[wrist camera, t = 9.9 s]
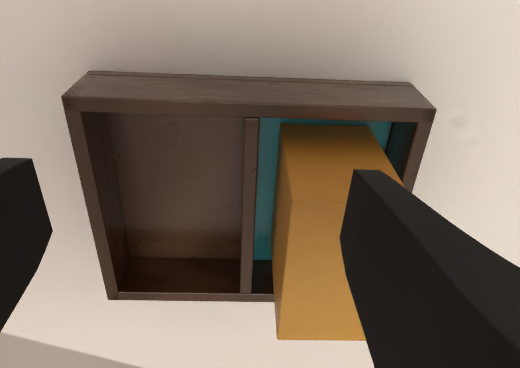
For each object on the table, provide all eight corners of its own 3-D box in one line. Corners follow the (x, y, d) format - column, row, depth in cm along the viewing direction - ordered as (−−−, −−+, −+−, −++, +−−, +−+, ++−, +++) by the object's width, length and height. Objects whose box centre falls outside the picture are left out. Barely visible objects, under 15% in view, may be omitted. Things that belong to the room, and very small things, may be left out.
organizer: (123, 258, 23) (107, 300, 20) (88, 70, 17) (60, 96, 15) (365, 262, 23) (379, 304, 21) (410, 82, 18) (437, 108, 15)
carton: (270, 243, 22) (276, 340, 17) (279, 122, 18) (291, 201, 13) (344, 244, 22) (373, 341, 17) (369, 125, 18) (415, 204, 13)
